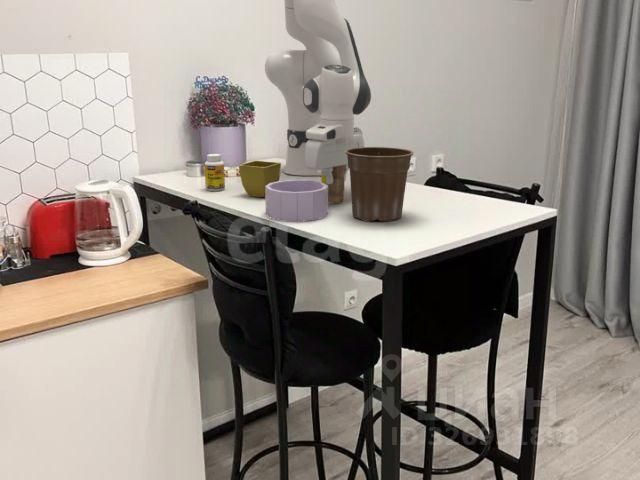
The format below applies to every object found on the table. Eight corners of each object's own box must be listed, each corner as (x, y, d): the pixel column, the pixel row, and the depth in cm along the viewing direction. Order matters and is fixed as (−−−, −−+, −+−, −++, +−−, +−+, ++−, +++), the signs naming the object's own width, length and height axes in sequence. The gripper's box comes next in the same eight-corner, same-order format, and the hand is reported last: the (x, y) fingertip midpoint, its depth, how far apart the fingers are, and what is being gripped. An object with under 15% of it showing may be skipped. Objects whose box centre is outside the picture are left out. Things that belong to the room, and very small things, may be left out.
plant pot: (369, 205, 170) (371, 144, 166) (422, 215, 160) (425, 150, 156) (331, 217, 158) (331, 151, 153) (386, 228, 148) (388, 158, 144)
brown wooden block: (335, 200, 175) (336, 148, 171) (343, 202, 173) (344, 150, 169) (328, 202, 173) (328, 150, 169) (336, 204, 171) (337, 151, 167)
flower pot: (238, 196, 179) (237, 164, 177) (256, 190, 187) (255, 160, 184) (265, 200, 175) (264, 167, 173) (282, 194, 183) (281, 162, 180)
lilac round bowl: (296, 203, 171) (296, 177, 169) (339, 213, 162) (339, 185, 160) (254, 213, 161) (253, 186, 159) (297, 224, 151) (297, 195, 149)
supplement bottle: (205, 192, 185) (203, 156, 182) (206, 188, 190) (204, 153, 187) (225, 191, 185) (223, 156, 183) (225, 187, 191) (223, 153, 188)
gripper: (352, 125, 177) (351, 175, 181) (301, 132, 162) (301, 186, 166) (371, 127, 173) (369, 178, 177) (319, 134, 158) (319, 189, 162)
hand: (336, 182), depth 171 cm, fingers closed on brown wooden block, 3 cm apart
